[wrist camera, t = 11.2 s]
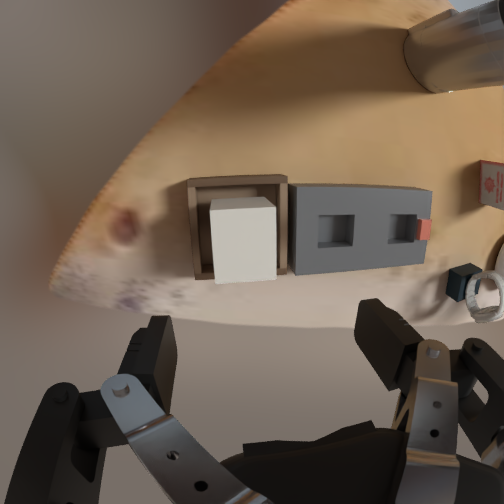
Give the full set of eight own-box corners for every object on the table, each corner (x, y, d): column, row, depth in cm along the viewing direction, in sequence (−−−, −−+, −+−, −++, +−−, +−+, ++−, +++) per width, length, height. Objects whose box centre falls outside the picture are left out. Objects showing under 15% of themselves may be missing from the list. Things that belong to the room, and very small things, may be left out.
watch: (443, 304, 38) (485, 338, 28) (451, 258, 35) (500, 287, 25) (464, 296, 38) (505, 326, 28) (472, 252, 36) (519, 278, 25)
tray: (190, 178, 28) (186, 180, 25) (280, 174, 29) (287, 176, 26) (197, 269, 31) (195, 280, 29) (280, 264, 32) (286, 274, 29)
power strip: (288, 183, 30) (298, 187, 26) (415, 187, 31) (436, 192, 27) (287, 263, 32) (297, 278, 28) (408, 254, 34) (426, 265, 30)
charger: (212, 196, 29) (209, 210, 21) (261, 194, 29) (276, 206, 22) (216, 252, 31) (215, 284, 23) (262, 249, 31) (276, 279, 23)
